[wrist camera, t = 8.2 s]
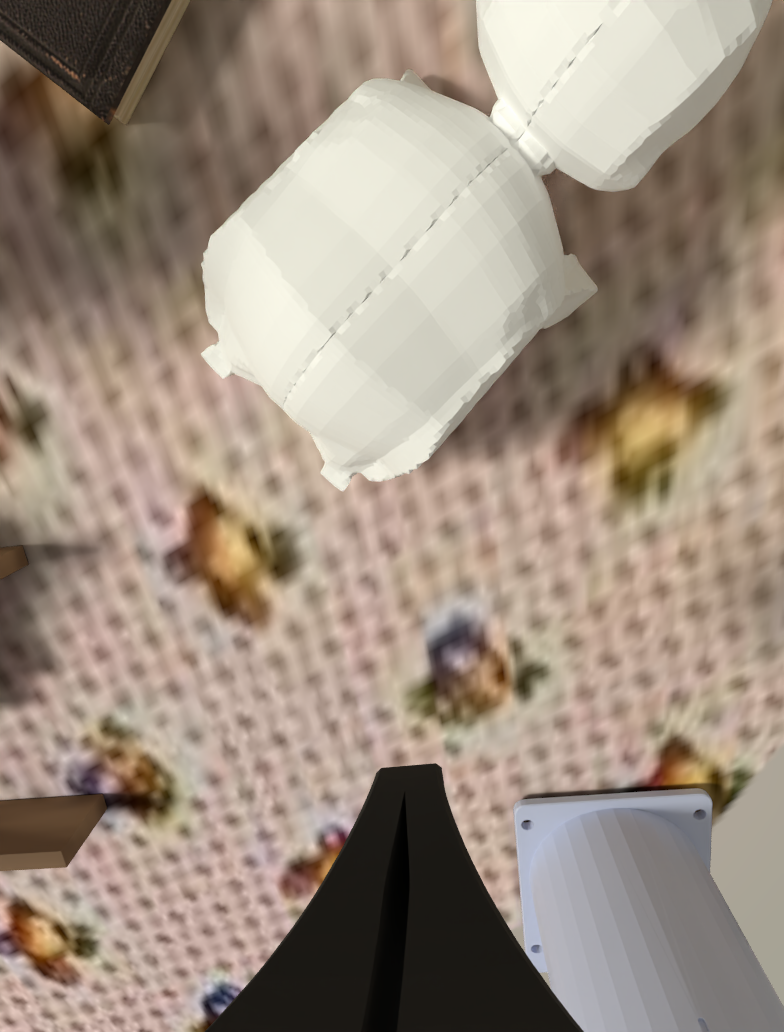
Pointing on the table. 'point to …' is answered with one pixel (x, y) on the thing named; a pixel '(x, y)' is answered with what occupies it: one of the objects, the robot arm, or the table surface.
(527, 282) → the white double-lobed plush
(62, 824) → the box
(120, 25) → the hardcover book
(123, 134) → the table surface
